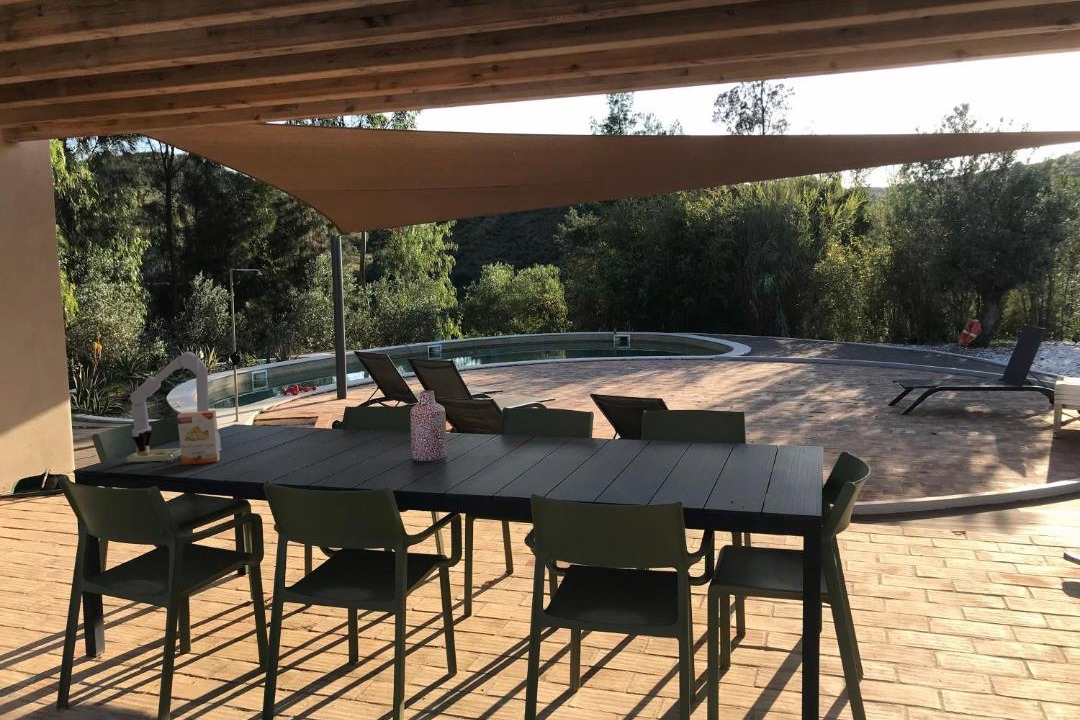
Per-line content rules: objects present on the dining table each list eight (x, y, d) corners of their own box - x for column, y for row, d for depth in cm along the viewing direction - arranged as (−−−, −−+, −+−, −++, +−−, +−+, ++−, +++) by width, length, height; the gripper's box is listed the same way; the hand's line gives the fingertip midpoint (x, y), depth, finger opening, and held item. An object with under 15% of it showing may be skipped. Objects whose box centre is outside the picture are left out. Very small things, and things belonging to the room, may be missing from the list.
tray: (184, 453, 380) (183, 448, 379) (172, 460, 366) (171, 454, 366) (139, 456, 379) (139, 450, 379) (126, 463, 365) (125, 457, 365)
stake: (174, 462, 363) (173, 451, 362) (170, 464, 358) (169, 453, 358) (170, 462, 363) (168, 451, 362) (166, 464, 358) (164, 453, 358)
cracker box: (181, 465, 355) (176, 414, 353) (185, 462, 361) (180, 412, 359) (217, 462, 357) (212, 411, 355) (220, 459, 363) (215, 409, 361)
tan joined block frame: (174, 454, 377) (173, 442, 377) (166, 458, 368) (165, 447, 368) (142, 456, 377) (141, 444, 376) (133, 460, 368) (132, 449, 367)
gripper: (138, 416, 377) (141, 447, 379) (123, 422, 363) (127, 454, 364) (154, 415, 378) (158, 446, 379) (141, 421, 363) (144, 453, 365)
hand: (144, 450), depth 372 cm, fingers open, 4 cm apart
